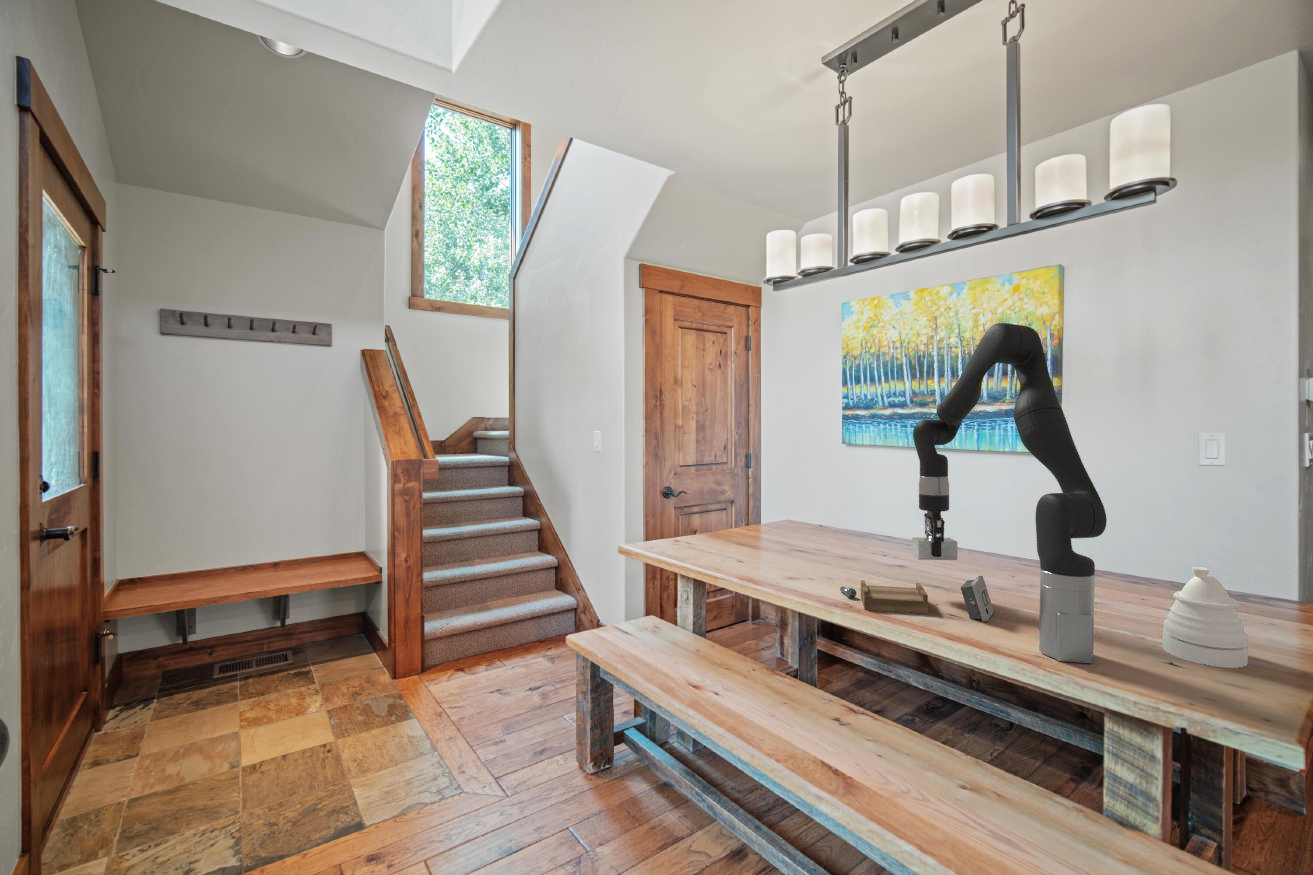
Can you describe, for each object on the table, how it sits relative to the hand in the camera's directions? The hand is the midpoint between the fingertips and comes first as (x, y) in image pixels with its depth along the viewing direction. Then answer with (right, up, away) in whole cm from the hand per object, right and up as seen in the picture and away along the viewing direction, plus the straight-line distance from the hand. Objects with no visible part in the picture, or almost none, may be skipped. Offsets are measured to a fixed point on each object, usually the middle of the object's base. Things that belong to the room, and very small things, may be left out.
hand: (934, 553), depth 164 cm
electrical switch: (+3, -12, -16) cm, 21 cm away
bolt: (-23, -12, +2) cm, 26 cm away
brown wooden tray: (-14, -12, -7) cm, 20 cm away
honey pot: (+36, -13, -41) cm, 56 cm away
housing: (0, -1, 0) cm, 1 cm away
